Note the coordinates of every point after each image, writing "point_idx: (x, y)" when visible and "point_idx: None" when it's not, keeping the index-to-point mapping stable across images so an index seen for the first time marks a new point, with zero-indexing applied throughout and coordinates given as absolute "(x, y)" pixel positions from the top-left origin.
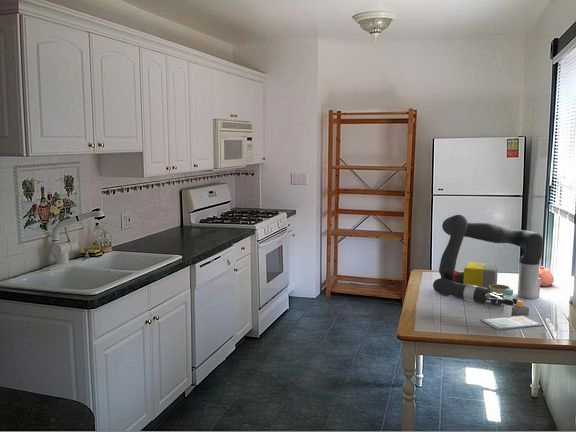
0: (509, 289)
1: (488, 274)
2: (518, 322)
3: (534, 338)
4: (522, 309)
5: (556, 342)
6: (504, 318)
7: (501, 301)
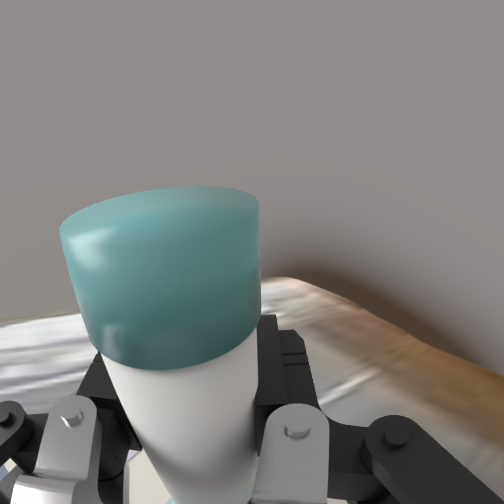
0: (129, 208)
1: None
2: (146, 470)
3: (338, 344)
4: None
5: (305, 296)
6: None
7: (356, 437)
